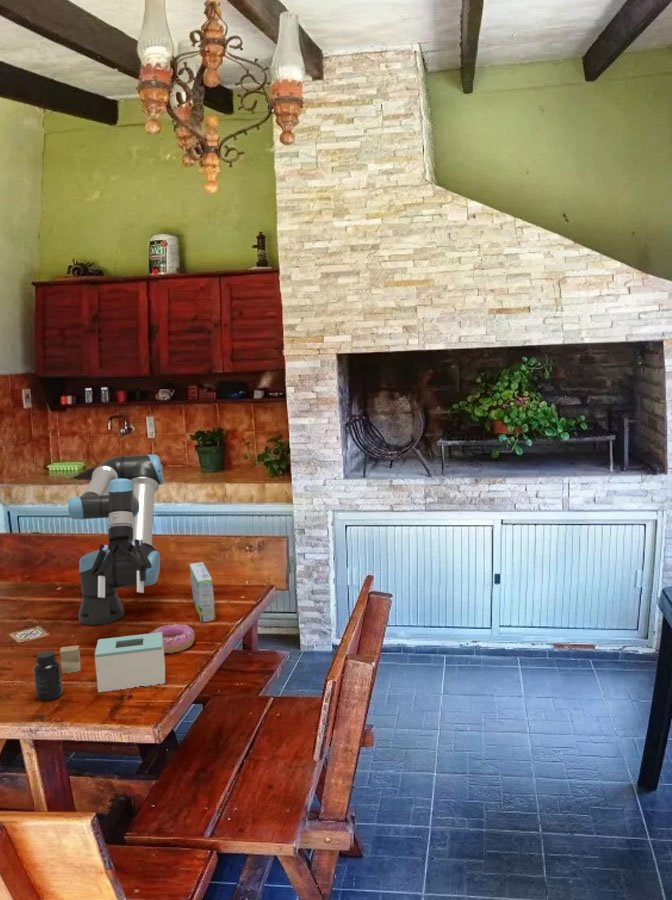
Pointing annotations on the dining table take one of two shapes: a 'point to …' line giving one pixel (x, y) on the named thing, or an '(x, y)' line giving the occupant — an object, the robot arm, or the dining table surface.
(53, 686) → the supplement bottle
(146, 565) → the robot arm
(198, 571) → the snack box
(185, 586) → the dining table surface
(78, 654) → the beige rectangular block
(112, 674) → the box
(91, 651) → the dining table surface
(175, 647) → the donut
